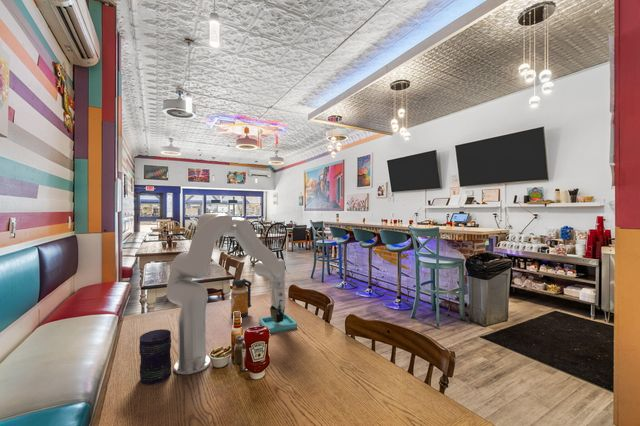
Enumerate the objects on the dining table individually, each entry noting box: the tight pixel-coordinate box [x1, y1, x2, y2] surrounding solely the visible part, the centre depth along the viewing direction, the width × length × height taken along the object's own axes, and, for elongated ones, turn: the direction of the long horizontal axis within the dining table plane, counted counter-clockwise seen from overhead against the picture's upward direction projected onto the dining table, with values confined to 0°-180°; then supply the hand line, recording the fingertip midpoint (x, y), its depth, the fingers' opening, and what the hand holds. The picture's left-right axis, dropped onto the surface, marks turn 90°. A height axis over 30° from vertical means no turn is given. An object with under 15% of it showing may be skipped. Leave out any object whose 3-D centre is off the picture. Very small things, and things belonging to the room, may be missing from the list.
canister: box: [230, 278, 253, 318], centre depth 163 cm, size 9×11×20 cm
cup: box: [269, 304, 286, 323], centre depth 148 cm, size 8×7×8 cm
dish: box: [258, 313, 298, 335], centre depth 148 cm, size 15×15×2 cm
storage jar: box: [138, 328, 172, 386], centre depth 104 cm, size 10×10×15 cm
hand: (277, 318), depth 148 cm, fingers closed on cup, 6 cm apart
